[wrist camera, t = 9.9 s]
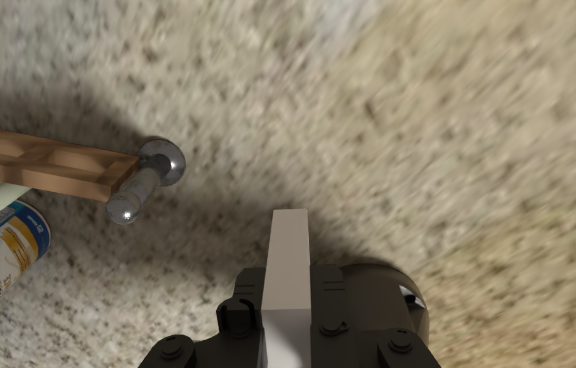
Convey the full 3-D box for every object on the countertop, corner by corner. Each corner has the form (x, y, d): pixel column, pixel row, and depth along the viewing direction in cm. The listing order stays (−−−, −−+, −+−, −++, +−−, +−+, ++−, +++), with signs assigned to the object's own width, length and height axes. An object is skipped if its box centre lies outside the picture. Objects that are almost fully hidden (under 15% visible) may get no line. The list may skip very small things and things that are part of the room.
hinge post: (188, 184, 45) (153, 243, 34) (141, 184, 45) (92, 242, 34) (182, 139, 42) (143, 187, 32) (134, 139, 43) (79, 187, 32)
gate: (139, 156, 42) (110, 186, 35) (139, 171, 42) (110, 202, 36) (-28, 124, 41) (-89, 148, 34) (-26, 139, 42) (-86, 165, 35)
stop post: (66, 185, 45) (6, 234, 36) (26, 185, 45) (-44, 234, 36) (56, 147, 43) (-9, 187, 34) (14, 147, 43) (-62, 187, 34)
